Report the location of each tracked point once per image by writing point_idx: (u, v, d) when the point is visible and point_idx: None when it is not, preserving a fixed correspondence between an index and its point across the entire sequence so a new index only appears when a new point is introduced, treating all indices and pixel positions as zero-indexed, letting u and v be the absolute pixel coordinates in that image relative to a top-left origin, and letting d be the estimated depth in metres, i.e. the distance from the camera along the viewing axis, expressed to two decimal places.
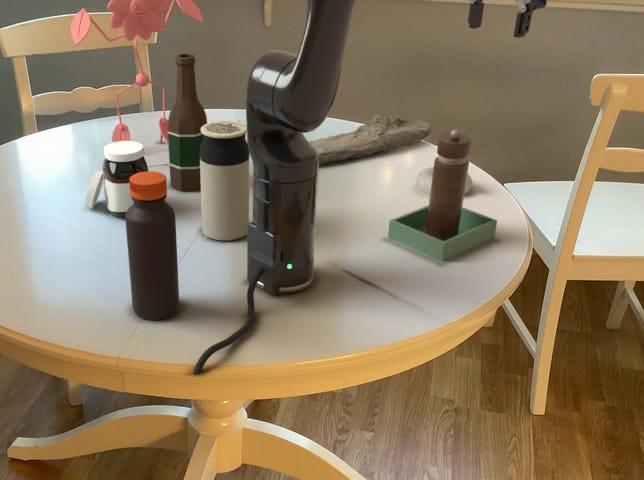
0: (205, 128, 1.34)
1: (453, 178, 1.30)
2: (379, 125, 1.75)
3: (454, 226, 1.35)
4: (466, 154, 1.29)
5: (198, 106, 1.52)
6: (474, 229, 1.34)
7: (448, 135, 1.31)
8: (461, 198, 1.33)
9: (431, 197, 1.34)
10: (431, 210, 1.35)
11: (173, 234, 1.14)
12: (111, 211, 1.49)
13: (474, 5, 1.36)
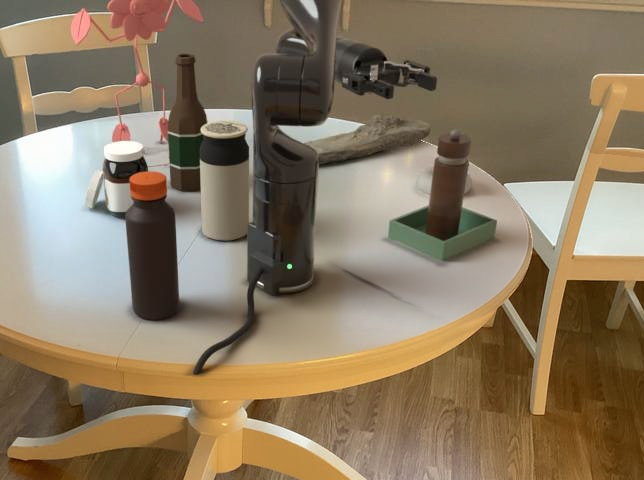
0: (205, 128, 1.34)
1: (453, 178, 1.30)
2: (379, 125, 1.75)
3: (454, 226, 1.35)
4: (466, 154, 1.29)
5: (198, 106, 1.52)
6: (474, 229, 1.34)
7: (448, 135, 1.31)
8: (461, 198, 1.33)
9: (431, 197, 1.34)
10: (431, 210, 1.35)
11: (173, 234, 1.14)
12: (111, 211, 1.49)
13: (379, 80, 1.36)
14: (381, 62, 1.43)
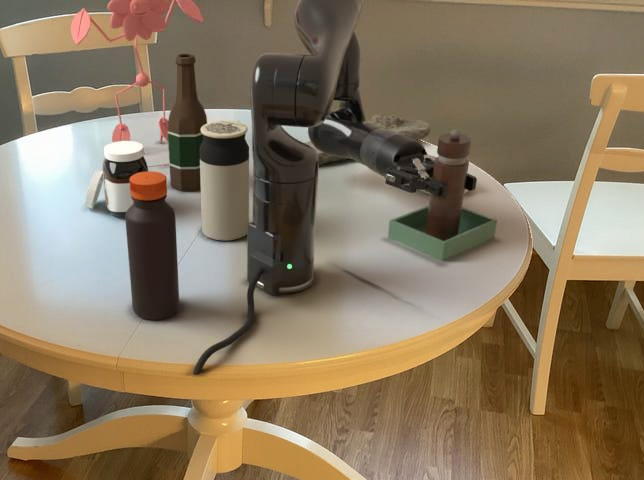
0: (205, 128, 1.34)
1: (453, 179, 1.30)
2: (379, 125, 1.75)
3: (454, 226, 1.35)
4: (466, 154, 1.29)
5: (198, 106, 1.52)
6: (474, 229, 1.34)
7: (448, 135, 1.31)
8: (461, 198, 1.33)
9: (431, 197, 1.34)
10: (431, 210, 1.35)
11: (173, 234, 1.14)
12: (111, 211, 1.49)
13: (431, 178, 1.33)
14: (420, 155, 1.41)
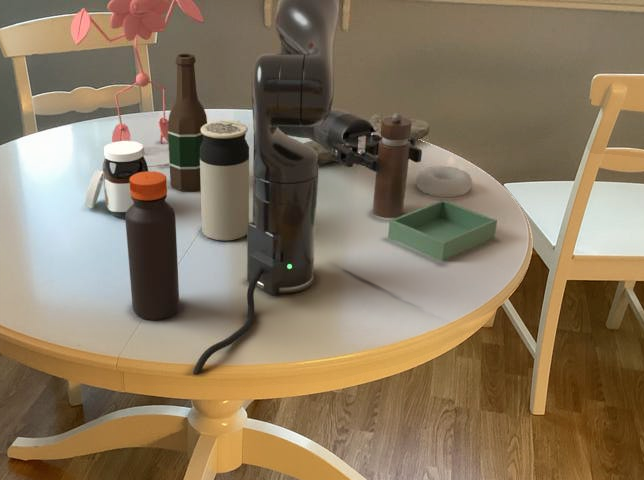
0: (205, 128, 1.34)
1: (395, 159, 1.40)
2: (378, 125, 1.75)
3: (398, 204, 1.45)
4: (407, 136, 1.38)
5: (198, 106, 1.52)
6: (474, 229, 1.34)
7: (390, 119, 1.40)
8: (404, 177, 1.42)
9: (376, 177, 1.44)
10: (377, 189, 1.44)
11: (173, 234, 1.14)
12: (111, 211, 1.49)
13: (366, 153, 1.41)
14: (368, 132, 1.49)
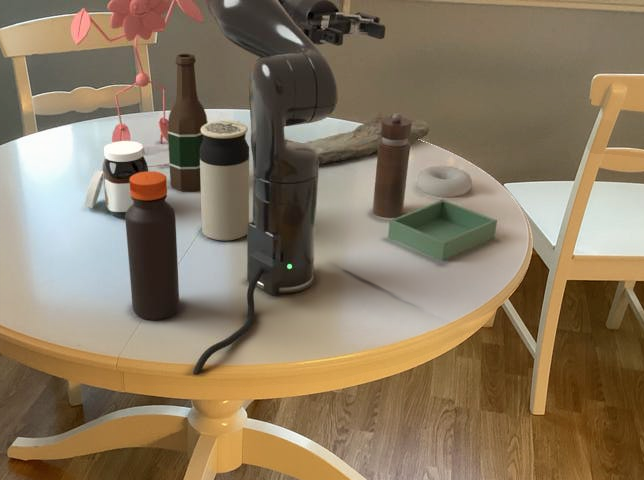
0: (205, 128, 1.34)
1: (395, 159, 1.40)
2: (378, 125, 1.75)
3: (398, 204, 1.45)
4: (407, 136, 1.38)
5: (198, 106, 1.52)
6: (474, 229, 1.34)
7: (390, 119, 1.40)
8: (404, 177, 1.42)
9: (376, 177, 1.44)
10: (377, 189, 1.44)
11: (173, 234, 1.14)
12: (111, 211, 1.49)
13: (329, 28, 1.41)
14: (333, 14, 1.49)
